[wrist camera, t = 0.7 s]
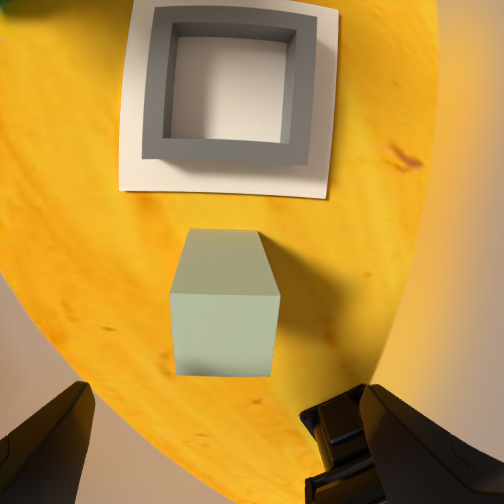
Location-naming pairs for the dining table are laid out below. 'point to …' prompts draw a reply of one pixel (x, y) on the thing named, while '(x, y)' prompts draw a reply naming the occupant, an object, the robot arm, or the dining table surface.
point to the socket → (228, 97)
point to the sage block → (224, 305)
